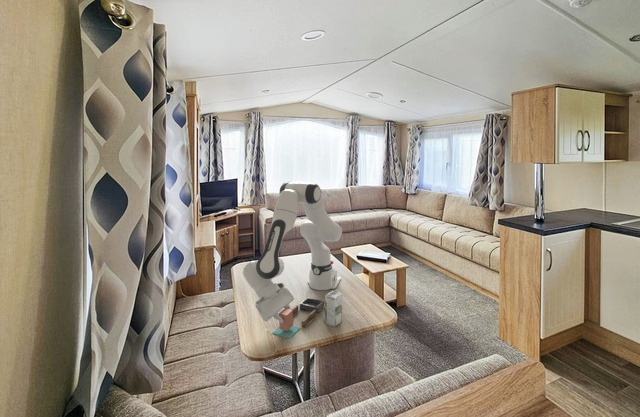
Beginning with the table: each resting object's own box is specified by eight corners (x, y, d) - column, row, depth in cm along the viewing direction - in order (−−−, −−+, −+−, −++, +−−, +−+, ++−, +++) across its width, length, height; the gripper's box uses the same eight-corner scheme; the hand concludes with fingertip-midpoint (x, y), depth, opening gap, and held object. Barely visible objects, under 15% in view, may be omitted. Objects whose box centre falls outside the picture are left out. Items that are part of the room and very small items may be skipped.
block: (285, 323, 141) (285, 308, 140) (293, 325, 139) (292, 310, 138) (279, 328, 137) (278, 313, 135) (287, 331, 135) (286, 315, 134)
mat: (283, 323, 144) (283, 322, 144) (300, 328, 140) (300, 327, 140) (272, 333, 137) (272, 332, 136) (289, 339, 132) (289, 338, 132)
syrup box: (332, 318, 149) (332, 289, 146) (342, 322, 145) (342, 293, 142) (325, 323, 144) (324, 294, 142) (335, 327, 141) (335, 297, 138)
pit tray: (307, 302, 165) (307, 297, 164) (324, 306, 160) (324, 300, 160) (299, 309, 158) (299, 303, 157) (317, 313, 153) (316, 307, 153)
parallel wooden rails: (296, 310, 156) (296, 304, 156) (316, 315, 151) (316, 309, 150) (283, 322, 146) (282, 316, 145) (303, 327, 141) (303, 321, 140)
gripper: (257, 299, 129) (277, 326, 126) (284, 281, 147) (303, 304, 144) (249, 307, 132) (269, 333, 129) (277, 288, 150) (295, 311, 147)
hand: (287, 318), depth 137 cm, fingers closed on block, 5 cm apart
